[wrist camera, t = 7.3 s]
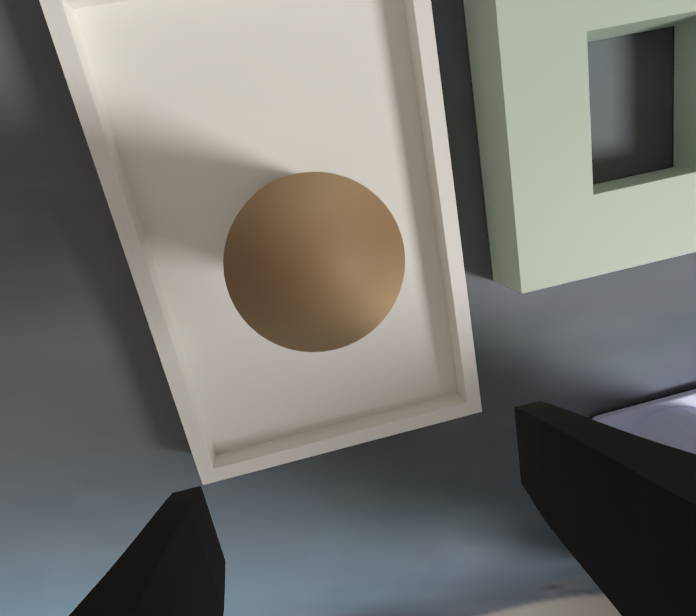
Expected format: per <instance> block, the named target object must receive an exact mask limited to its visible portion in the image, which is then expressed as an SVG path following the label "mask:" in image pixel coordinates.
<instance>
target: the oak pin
mask: <svg viewBox="0 0 696 616" xmlns="http://www.w3.org/2000/svg"><path fill="white" fill-rule="evenodd" d="M223 268H224V277H225V283H226V287H227V290H228V293H229V296H230V298H231V300H232V302H233V304H234V306H235V308H236V310H237V311H238V313H239V314H240V316H241V317H242V318H243V319H244V321H245V322H246V323H247V324H248V325H249V326H250V327H251V328H252V329H253V330H255V331H256V332H257V333H258V334H259V335H261V336H262V337H264V338H265V339H267V340H268V341H271V342H273V343H275V344H277V345H279V346H282V347H285V348H288V349H291V350H296V351H302V352H325V351H330V350H335V349H339V348H342V347H345V346H348V345H350V344H352V343H354V342H356V341H358V340H360V339H361V338H363V337H365V336H366V335H367V334H369V333H370V332H371V331H373V330H374V329H375V328H376V327H377V326H378V325H379V324H380V323H381V322H382V321H383V320H384V318H385V317H386V316H387V315H388V313H389V312H390V310H391V308H392V307H393V305H394V304H395V302H396V299H397V297H398V295H399V293H400V289H401V286H402V283H403V278H404V272H405V251H404V244H403V240H402V236H401V233H400V230H399V227H398V225H397V223H396V221H395V219H394V217H393V215H392V214H391V212H390V211H389V209H388V208H387V206H386V205H385V204H384V203H383V202H382V201H381V200H380V198H379V197H378V196H377V195H375V194H374V193H373V192H372V191H371V190H369V189H368V188H366V187H365V186H363V185H362V184H360V183H358V182H356V181H354V180H352V179H350V178H348V177H344V176H341V175H338V174H334V173H327V172H303V173H296V174H293V175H289V176H285V177H281V178H277V179H275V180H272V181H270V182H269V183H267V184H265V185H264V186H263V187H261V188H260V189H259V190H258V191H257V192H256V193H255V194H254V195H253V196H252V197H251V198H250V199H249V200H248V201H247V202H246V203H245V204H244V206H243V207H242V209H241V210H240V211H239V213H238V214H237V216H236V218H235V219H234V221H233V223H232V225H231V227H230V230H229V233H228V236H227V239H226V243H225V248H224V257H223Z"/></svg>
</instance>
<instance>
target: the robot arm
mask: <svg viewBox="0 0 696 616" xmlns="http://www.w3.org/2000/svg"><path fill="white" fill-rule="evenodd" d="M515 418H516V429H517V440H518V451H519V462H520V473H521V483H522V484H523V486H524V488H525V489H526V491H527V492H528V494H529V496H530V497H531V499H532V501H533V502H534V504H535V506H536V507H537V509H538V510H539V512H540V513H541V515H542V516H543V518H544V520H545V521H546V522H547V524H548V525H549V526H550V527H551V529H552V530H553V531H554V533H555V534H556V535H557V536H558V538H559V539H560V540H561V541H562V543H563V544H564V545H565V546H566V547H567V549H568V550H569V551H570V552H571V554H572V555H573V556H574V557H575V559H576V560H577V561H578V562H579V563H580V565H581V566H582V567H583V568H584V570H585V571H586V572H587V573H588V574H589V576H590V577H591V578H592V579H593V581H594V582H595V583H596V584H597V585H598V587H599V588H600V589H601V590H602V592H603V593H604V594H605V595H606V597H607V598H608V599H609V600H610V601H611V603H612V604H613V605H614V606H615V608H616V609H617V610H618V611H619V613H620V614H621V615H622V616H696V389H694V390H690V391H686V392H683V393H679V394H675V395H671V396H668V397H664V398H660V399H657V400H653V401H649V402H646V403H642V404H638V405H635V406H631V407H627V408H623V409H620V410H616V411H612V412H609V413H605V414H601V415H598V416H595V417H593V418H592V419H590V418H587V417H584V416H582V415H579V414H576V413H574V412H571V411H568V410H565V409H562V408H560V407H557V406H554V405H551V404H547V403H544V402H540V401H538V402H534V403H530V404H526V405H522V406H518V407H515ZM224 593H225V559H224V556H223V553H222V550H221V547H220V543H219V540H218V537H217V534H216V531H215V528H214V525H213V522H212V519H211V516H210V512H209V509H208V506H207V503H206V500H205V497H204V494H203V491H202V488H201V486H199V487H195V488H191V489H187V490H183V491H179V492H175V493H172V494H171V495H170V497H169V498H168V499H167V500H166V501H165V502H164V504H163V505H162V506H161V507H160V508H159V510H158V511H157V512H156V513H155V515H154V516H153V517H152V518H151V520H150V521H149V522H148V523H147V525H146V526H145V527H144V528H143V530H142V531H141V532H140V533H139V535H138V536H137V537H136V538H135V540H134V541H133V542H132V543H131V545H130V546H129V547H128V548H127V549H126V551H125V552H124V553H123V554H122V556H121V557H120V558H119V559H118V560H117V562H116V563H115V564H114V565H113V566H112V568H111V569H110V570H109V571H108V572H107V573H106V575H105V576H104V577H103V578H102V579H101V580H100V581H99V582H98V584H97V585H96V586H95V587H94V588H93V589H92V590H91V591H90V593H89V594H88V595H87V596H86V597H85V598H84V599H83V600H82V602H81V603H80V604H79V605H78V606H77V607H76V608H75V610H74V611H73V612H72V613H71V614H70V615H69V616H223V612H224Z"/></svg>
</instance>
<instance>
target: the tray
mask: <svg viewBox="0 0 696 616" xmlns="http://www.w3.org/2000/svg"><path fill="white" fill-rule="evenodd" d="M39 1H40V4H41V7H42V10H43V13H44V16H45V19H46V22H47V25H48V28H49V31H50V34H51V37H52V40H53V43H54V46H55V49H56V52H57V55H58V58H59V61H60V63H61V66H62V69H63V72H64V75H65V78H66V81H67V84H68V87H69V90H70V93H71V96H72V99H73V102H74V105H75V108H76V111H77V114H78V117H79V120H80V123H81V126H82V129H83V132H84V135H85V138H86V141H87V144H88V146H89V149H90V152H91V155H92V158H93V161H94V164H95V167H96V170H97V173H98V176H99V179H100V182H101V185H102V188H103V191H104V194H105V197H106V200H107V203H108V206H109V209H110V212H111V215H112V218H113V221H114V224H115V227H116V229H117V232H118V235H119V238H120V241H121V244H122V247H123V250H124V253H125V256H126V259H127V262H128V265H129V268H130V271H131V274H132V277H133V280H134V283H135V286H136V289H137V292H138V295H139V298H140V301H141V304H142V307H143V309H144V312H145V315H146V318H147V321H148V324H149V327H150V330H151V333H152V336H153V339H154V342H155V345H156V348H157V351H158V354H159V357H160V360H161V363H162V366H163V369H164V372H165V375H166V378H167V381H168V384H169V387H170V390H171V392H172V395H173V398H174V401H175V404H176V407H177V410H178V413H179V416H180V419H181V422H182V425H183V428H184V431H185V434H186V437H187V440H188V443H189V446H190V449H191V452H192V455H193V458H194V461H195V464H196V467H197V470H198V473H199V475H200V478H201V481H202V484H203V485H205V484H209V483H213V482H217V481H221V480H224V479H228V478H232V477H236V476H240V475H243V474H247V473H251V472H255V471H259V470H263V469H266V468H270V467H274V466H278V465H282V464H285V463H289V462H293V461H297V460H301V459H304V458H308V457H312V456H316V455H320V454H323V453H327V452H331V451H335V450H339V449H342V448H346V447H350V446H354V445H358V444H361V443H365V442H369V441H373V440H377V439H380V438H384V437H388V436H392V435H396V434H399V433H403V432H407V431H411V430H415V429H418V428H422V427H426V426H430V425H434V424H437V423H441V422H445V421H449V420H453V419H456V418H460V417H464V416H468V415H472V414H475V413H479V412H482V406H481V398H480V390H479V382H478V374H477V366H476V358H475V350H474V342H473V334H472V326H471V318H470V310H469V302H468V294H467V286H466V278H465V270H464V262H463V254H462V246H461V238H460V230H459V222H458V214H457V206H456V198H455V190H454V182H453V174H452V166H451V158H450V150H449V142H448V134H447V126H446V118H445V110H444V102H443V94H442V86H441V78H440V70H439V62H438V54H437V46H436V38H435V30H434V22H433V14H432V6H431V0H39ZM303 172H327V173H334V174H338V175H341V176H344V177H348V178H350V179H352V180H354V181H356V182H358V183H360V184H362V185H363V186H365V187H366V188H368V189H369V190H371V191H372V192H373V193H374V194H375V195H377V196H378V197H379V198H380V200H381V201H382V202H383V203H384V204H385V205H386V206H387V208H388V209H389V211H390V212H391V214H392V215H393V217H394V219H395V221H396V223H397V225H398V227H399V230H400V233H401V236H402V240H403V244H404V251H405V272H404V278H403V283H402V286H401V289H400V293H399V295H398V297H397V299H396V302H395V304H394V305H393V307H392V308H391V310H390V312H389V313H388V315H387V316H386V317H385V318H384V320H383V321H382V322H381V323H380V324H379V325H378V326H377V327H376V328H375V329H374V330H373V331H371V332H370V333H369V334H367V335H366V336H365V337H363V338H361V339H360V340H358V341H356V342H354V343H352V344H350V345H348V346H345V347H342V348H339V349H335V350H330V351H325V352H302V351H296V350H291V349H288V348H285V347H282V346H279V345H277V344H275V343H273V342H271V341H268V340H267V339H265V338H264V337H262V336H261V335H259V334H258V333H257V332H256V331H255V330H253V329H252V328H251V327H250V326H249V325H248V324H247V323H246V322H245V321H244V319H243V318H242V317H241V316H240V314H239V313H238V311H237V310H236V308H235V306H234V304H233V302H232V300H231V298H230V296H229V293H228V290H227V287H226V283H225V277H224V268H223V257H224V248H225V243H226V239H227V236H228V233H229V230H230V227H231V225H232V223H233V221H234V219H235V218H236V216H237V214H238V213H239V211H240V210H241V209H242V207H243V206H244V204H245V203H246V202H247V201H248V200H249V199H250V198H251V197H252V196H253V195H254V194H255V193H256V192H257V191H258V190H259V189H260V188H261V187H263V186H264V185H265V184H267V183H269V182H270V181H272V180H275V179H277V178H281V177H285V176H289V175H293V174H296V173H303Z"/></svg>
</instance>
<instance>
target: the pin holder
mask: <svg viewBox="0 0 696 616" xmlns="http://www.w3.org/2000/svg"><path fill="white" fill-rule="evenodd" d="M463 4H464V13H465V22H466V32H467V41H468V50H469V60H470V69H471V78H472V88H473V97H474V106H475V116H476V125H477V134H478V144H479V153H480V162H481V172H482V181H483V190H484V200H485V209H486V218H487V228H488V237H489V246H490V255H491V265H492V274H493V281H495V282H498V283H500V284H502V285H504V286H506V287H508V288H511V289H513V290H515V291H517V292H519V293H521V294H522V293H526V292H531V291H535V290H539V289H543V288H547V287H551V286H556V285H560V284H564V283H568V282H572V281H576V280H581V279H585V278H589V277H593V276H597V275H602V274H606V273H610V272H614V271H618V270H622V269H627V268H631V267H635V266H639V265H643V264H647V263H652V262H656V261H660V260H664V259H668V258H672V257H677V256H681V255H685V254H689V253H693V252H696V0H463ZM672 26H674V148H673V167H671V168H667V169H662V170H657V171H653V172H648V173H644V174H639V175H635V176H630V177H626V178H621V179H617V180H612V181H607V182H603V183H598V184H594V185H593V173H592V148H591V124H590V99H589V75H588V50H587V42H592V41H597V40H602V39H608V38H613V37H618V36H624V35H629V34H634V33H640V32H645V31H650V30H656V29H661V28H666V27H672Z"/></svg>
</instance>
